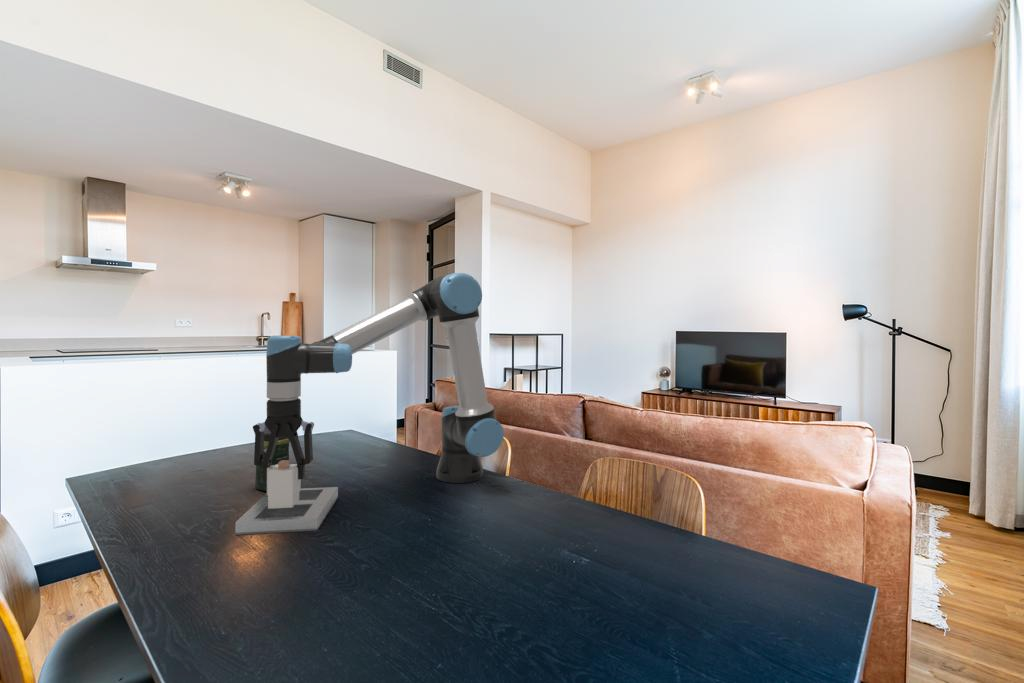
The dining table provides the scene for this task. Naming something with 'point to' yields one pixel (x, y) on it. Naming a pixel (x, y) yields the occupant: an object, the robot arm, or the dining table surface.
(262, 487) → the coffee jar
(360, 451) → the dining table surface
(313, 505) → the socket plate
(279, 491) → the white rectangular block
